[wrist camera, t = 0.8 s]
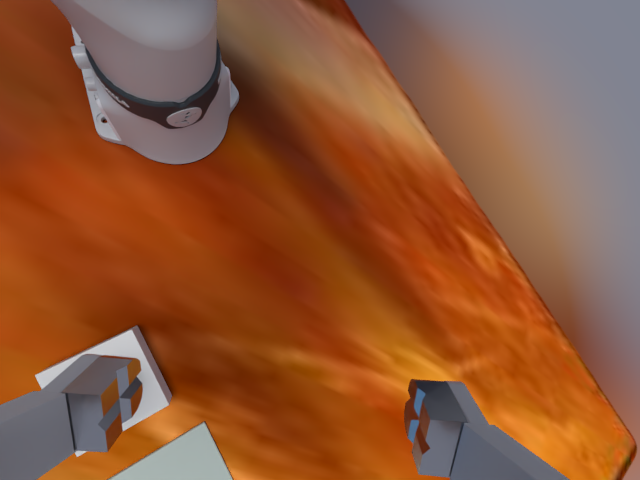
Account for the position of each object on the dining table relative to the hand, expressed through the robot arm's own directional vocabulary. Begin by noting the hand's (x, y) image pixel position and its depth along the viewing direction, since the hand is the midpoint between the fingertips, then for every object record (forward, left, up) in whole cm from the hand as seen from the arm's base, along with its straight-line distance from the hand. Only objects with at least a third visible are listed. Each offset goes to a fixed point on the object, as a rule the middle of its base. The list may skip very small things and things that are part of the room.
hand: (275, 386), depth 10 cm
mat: (+19, -15, -37) cm, 44 cm away
